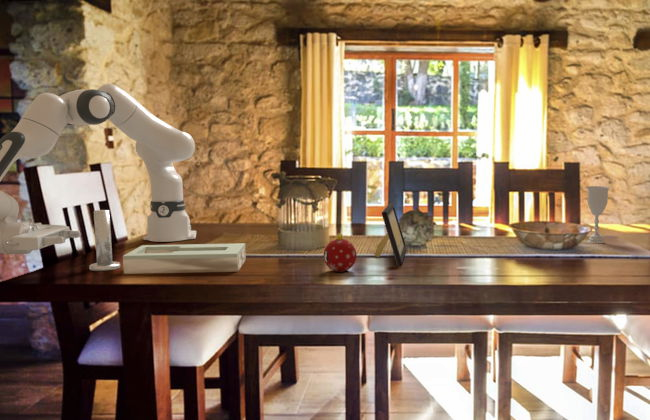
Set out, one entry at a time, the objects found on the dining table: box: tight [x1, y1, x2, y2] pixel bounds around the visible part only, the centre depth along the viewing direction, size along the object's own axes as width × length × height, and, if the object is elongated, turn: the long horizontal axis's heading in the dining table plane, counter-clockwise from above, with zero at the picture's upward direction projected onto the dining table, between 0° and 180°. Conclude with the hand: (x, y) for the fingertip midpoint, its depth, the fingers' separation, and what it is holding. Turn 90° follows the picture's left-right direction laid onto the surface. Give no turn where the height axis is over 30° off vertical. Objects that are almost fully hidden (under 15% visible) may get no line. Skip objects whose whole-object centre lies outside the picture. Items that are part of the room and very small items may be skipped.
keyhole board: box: [122, 242, 247, 275], centre depth 154 cm, size 16×30×5 cm, turn 91°
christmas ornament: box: [323, 233, 358, 273], centre depth 144 cm, size 9×9×10 cm
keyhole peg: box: [89, 209, 121, 272], centre depth 153 cm, size 8×8×16 cm
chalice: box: [586, 185, 610, 244], centre depth 180 cm, size 7×7×18 cm
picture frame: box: [374, 202, 407, 266], centre depth 162 cm, size 23×9×15 cm, turn 168°
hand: (71, 237), depth 153 cm, fingers open, 8 cm apart
